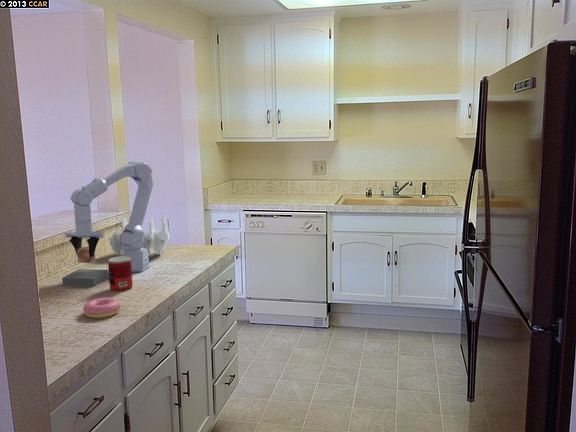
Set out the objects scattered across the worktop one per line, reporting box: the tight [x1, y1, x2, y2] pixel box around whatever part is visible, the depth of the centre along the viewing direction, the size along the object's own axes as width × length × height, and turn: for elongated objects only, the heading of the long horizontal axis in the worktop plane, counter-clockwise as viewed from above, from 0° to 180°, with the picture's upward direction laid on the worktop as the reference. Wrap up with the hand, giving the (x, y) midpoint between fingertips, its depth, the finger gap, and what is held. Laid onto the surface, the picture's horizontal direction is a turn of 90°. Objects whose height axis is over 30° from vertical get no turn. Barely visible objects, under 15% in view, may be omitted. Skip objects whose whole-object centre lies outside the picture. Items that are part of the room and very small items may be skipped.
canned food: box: [107, 255, 134, 292], centre depth 185 cm, size 8×8×11 cm
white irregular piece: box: [108, 216, 170, 256], centre depth 234 cm, size 18×18×25 cm
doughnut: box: [82, 297, 121, 319], centre depth 161 cm, size 11×11×4 cm
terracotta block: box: [76, 246, 96, 264], centre depth 197 cm, size 4×4×5 cm
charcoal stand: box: [61, 268, 109, 288], centre depth 195 cm, size 12×12×3 cm
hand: (85, 256), depth 197 cm, fingers closed on terracotta block, 4 cm apart
